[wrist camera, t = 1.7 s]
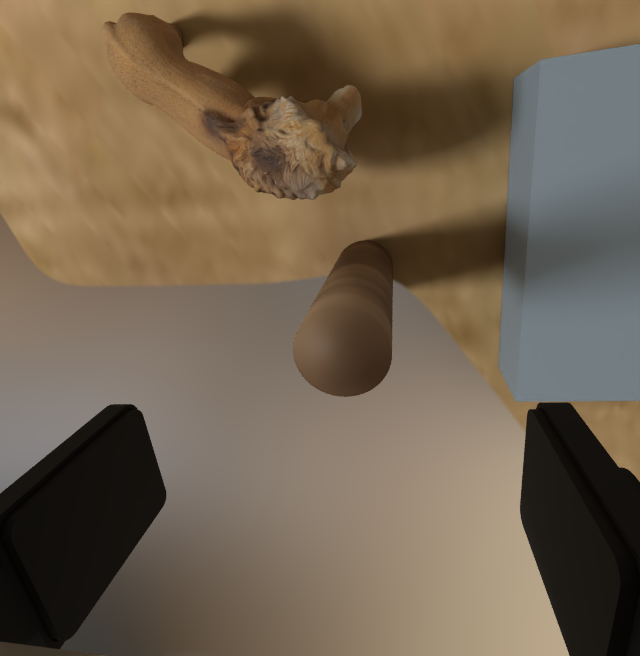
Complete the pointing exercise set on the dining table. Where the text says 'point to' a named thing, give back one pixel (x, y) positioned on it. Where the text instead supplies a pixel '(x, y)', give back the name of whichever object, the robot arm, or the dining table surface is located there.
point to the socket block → (574, 230)
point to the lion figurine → (237, 112)
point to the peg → (349, 324)
